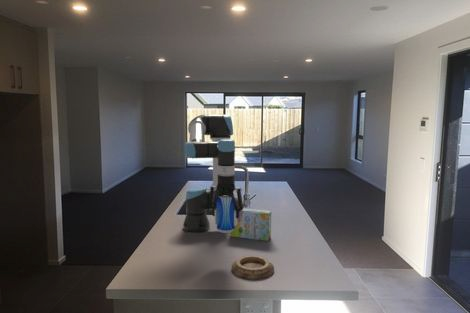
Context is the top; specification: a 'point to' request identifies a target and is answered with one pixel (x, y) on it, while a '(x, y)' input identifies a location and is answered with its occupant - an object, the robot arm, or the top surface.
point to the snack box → (253, 224)
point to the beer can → (225, 214)
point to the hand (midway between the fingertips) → (225, 224)
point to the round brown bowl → (252, 267)
